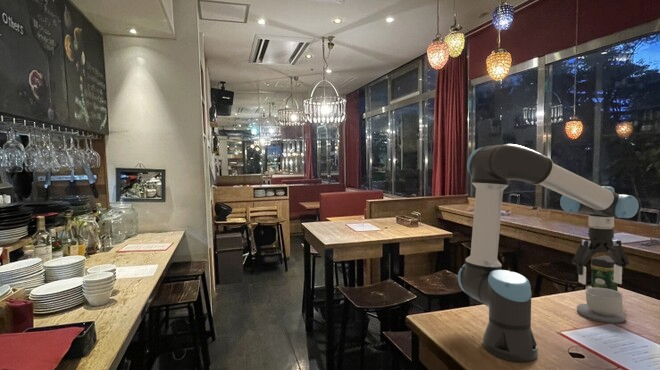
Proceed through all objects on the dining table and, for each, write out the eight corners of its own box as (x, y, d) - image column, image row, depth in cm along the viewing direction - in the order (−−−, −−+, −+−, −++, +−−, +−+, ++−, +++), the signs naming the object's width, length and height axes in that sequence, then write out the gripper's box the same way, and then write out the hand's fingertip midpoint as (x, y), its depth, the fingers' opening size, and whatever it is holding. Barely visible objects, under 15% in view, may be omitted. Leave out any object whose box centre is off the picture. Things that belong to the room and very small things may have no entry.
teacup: (629, 320, 121) (629, 297, 121) (594, 318, 124) (595, 296, 123) (606, 304, 135) (606, 284, 135) (575, 303, 137) (575, 283, 137)
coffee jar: (598, 295, 149) (599, 253, 149) (620, 300, 142) (621, 256, 142) (587, 299, 145) (587, 256, 144) (609, 305, 138) (609, 260, 137)
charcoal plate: (596, 324, 122) (596, 320, 122) (567, 307, 137) (567, 304, 136) (636, 322, 122) (637, 318, 122) (603, 306, 137) (603, 303, 137)
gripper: (575, 229, 124) (574, 286, 125) (643, 228, 125) (641, 285, 125) (561, 226, 132) (560, 280, 132) (624, 225, 132) (623, 279, 133)
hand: (599, 283), depth 129 cm, fingers open, 13 cm apart
